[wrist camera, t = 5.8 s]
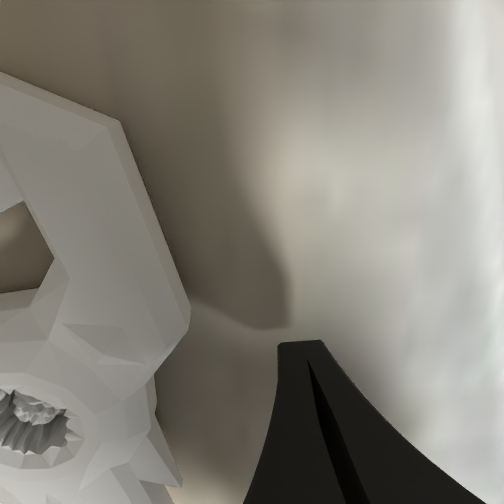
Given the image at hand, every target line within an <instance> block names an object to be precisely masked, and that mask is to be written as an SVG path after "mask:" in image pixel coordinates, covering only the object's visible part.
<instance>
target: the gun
mask: <svg viewBox="0 0 504 504" xmlns="http://www.w3.org/2000/svg"><path fill="white" fill-rule="evenodd" d="M22 201H24V202H25V204H26V206H27V208H28V209H29V211H30V213H31V215H32V217H33V219H34V221H35V222H36V224H37V226H38V228H39V230H40V232H41V234H42V236H43V237H44V239H45V241H46V243H47V245H48V247H49V249H50V250H51V252H52V254H53V256H54V258H55V259H54V260H53V262H52V264H51V266H50V268H49V270H48V272H47V274H46V276H45V278H44V280H43V282H42V284H41V286H40V287H39V288H36V289H29V290H22V291H15V292H9V293H2V294H0V503H1V504H174V503H173V501H172V499H171V497H170V495H169V493H168V491H167V490H166V488H165V486H164V485H169V486H174V487H179V488H182V477H181V475H180V473H179V470H178V468H177V466H176V463H175V461H174V459H173V456H172V454H171V452H170V449H169V447H168V444H167V442H166V440H165V437H164V435H163V433H162V430H161V428H160V426H159V423H158V421H157V419H156V416H155V409H156V405H157V398H156V389H155V381H154V373H155V372H156V371H157V369H158V368H159V367H160V366H161V364H162V363H163V362H164V360H165V359H166V358H167V357H168V355H169V354H170V353H171V352H172V350H173V349H174V348H175V347H176V345H177V344H178V343H179V342H180V340H181V339H182V338H183V337H184V335H185V334H186V333H187V332H188V329H189V323H190V317H191V312H192V308H191V306H190V303H189V300H188V298H187V295H186V293H185V290H184V287H183V285H182V282H181V280H180V277H179V274H178V272H177V269H176V267H175V264H174V261H173V259H172V256H171V254H170V251H169V248H168V246H167V243H166V241H165V238H164V235H163V233H162V230H161V228H160V225H159V222H158V220H157V217H156V214H155V212H154V209H153V207H152V204H151V201H150V199H149V196H148V194H147V191H146V188H145V186H144V183H143V181H142V178H141V175H140V173H139V170H138V168H137V165H136V162H135V160H134V157H133V155H132V152H131V149H130V147H129V144H128V142H127V139H126V136H125V134H124V131H123V128H122V126H121V123H120V121H119V120H116V119H114V118H111V117H109V116H107V115H104V114H102V113H99V112H97V111H95V110H92V109H90V108H87V107H85V106H82V105H80V104H78V103H75V102H73V101H70V100H68V99H65V98H63V97H61V96H58V95H56V94H53V93H51V92H49V91H46V90H44V89H41V88H39V87H36V86H34V85H32V84H29V83H27V82H24V81H22V80H20V79H17V78H15V77H12V76H10V75H7V74H5V73H3V72H0V213H1V212H3V211H5V210H7V209H9V208H10V207H12V206H14V205H16V204H18V203H20V202H22Z"/></svg>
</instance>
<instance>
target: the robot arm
mask: <svg viewBox="0 0 504 504" xmlns="http://www.w3.org/2000/svg"><path fill="white" fill-rule="evenodd" d="M277 354H278V383H277V390H276V397H275V403H274V407H273V412H272V416H271V421H270V425H269V429H268V433H267V436H266V440H265V443H264V447H263V450H262V453H261V456H260V459H259V462H258V465H257V468H256V471H255V474H254V477H253V480H252V482H251V485H250V488H249V490H248V493H247V495H246V498H245V500H244V502H243V504H486V503H485V502H483V501H482V500H481V499H479V498H478V497H476V496H475V495H474V494H472V493H471V492H470V491H468V490H467V489H465V488H464V487H463V486H462V485H460V484H459V483H458V482H456V481H455V480H454V479H453V478H451V477H450V476H449V475H448V474H446V473H445V472H444V471H443V470H441V469H440V468H439V467H438V466H436V465H435V464H434V463H433V462H431V461H430V460H429V459H428V458H427V457H425V456H424V455H423V454H422V453H421V452H420V451H419V450H417V449H416V448H415V447H414V446H413V445H412V444H411V443H410V442H408V441H407V440H406V439H405V438H404V437H403V436H402V435H401V434H400V433H399V432H398V431H397V430H396V429H395V428H394V427H393V426H392V425H391V424H390V423H389V422H388V421H387V420H386V419H385V418H384V417H383V416H382V415H381V414H380V413H379V412H378V411H377V410H376V409H375V408H374V407H373V405H372V404H371V403H370V402H369V401H368V400H367V399H366V398H365V397H364V395H363V394H362V393H361V392H360V391H359V389H358V388H357V387H356V386H355V385H354V383H353V382H352V381H351V380H350V379H349V377H348V376H347V375H346V374H345V372H344V371H343V370H342V368H341V367H340V366H339V364H338V363H337V362H336V360H335V359H334V358H333V356H332V355H331V353H330V352H329V351H328V349H327V348H326V346H325V345H324V343H323V342H322V341H321V340H309V341H297V342H284V343H280V344H279V345H278V346H277Z"/></svg>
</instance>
